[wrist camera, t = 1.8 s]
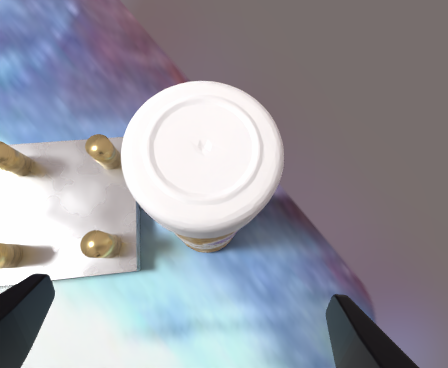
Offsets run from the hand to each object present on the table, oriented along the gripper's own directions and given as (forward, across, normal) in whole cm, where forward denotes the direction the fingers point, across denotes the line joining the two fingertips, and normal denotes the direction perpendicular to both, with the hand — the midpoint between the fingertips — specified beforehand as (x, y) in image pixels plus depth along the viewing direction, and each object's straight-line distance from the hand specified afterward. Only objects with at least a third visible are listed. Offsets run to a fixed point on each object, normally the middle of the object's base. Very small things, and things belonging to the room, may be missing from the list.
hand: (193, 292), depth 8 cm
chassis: (+10, +10, +5) cm, 15 cm away
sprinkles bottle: (+10, 0, +5) cm, 12 cm away
